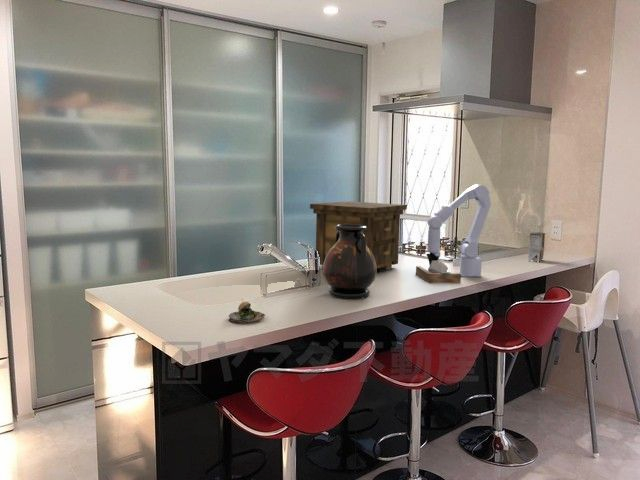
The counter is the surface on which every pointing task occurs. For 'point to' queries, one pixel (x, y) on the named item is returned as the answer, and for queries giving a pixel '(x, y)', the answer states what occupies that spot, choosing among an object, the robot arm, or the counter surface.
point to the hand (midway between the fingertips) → (432, 268)
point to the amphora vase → (349, 263)
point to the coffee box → (536, 246)
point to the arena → (438, 276)
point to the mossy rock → (245, 314)
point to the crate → (372, 215)
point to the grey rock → (437, 267)
